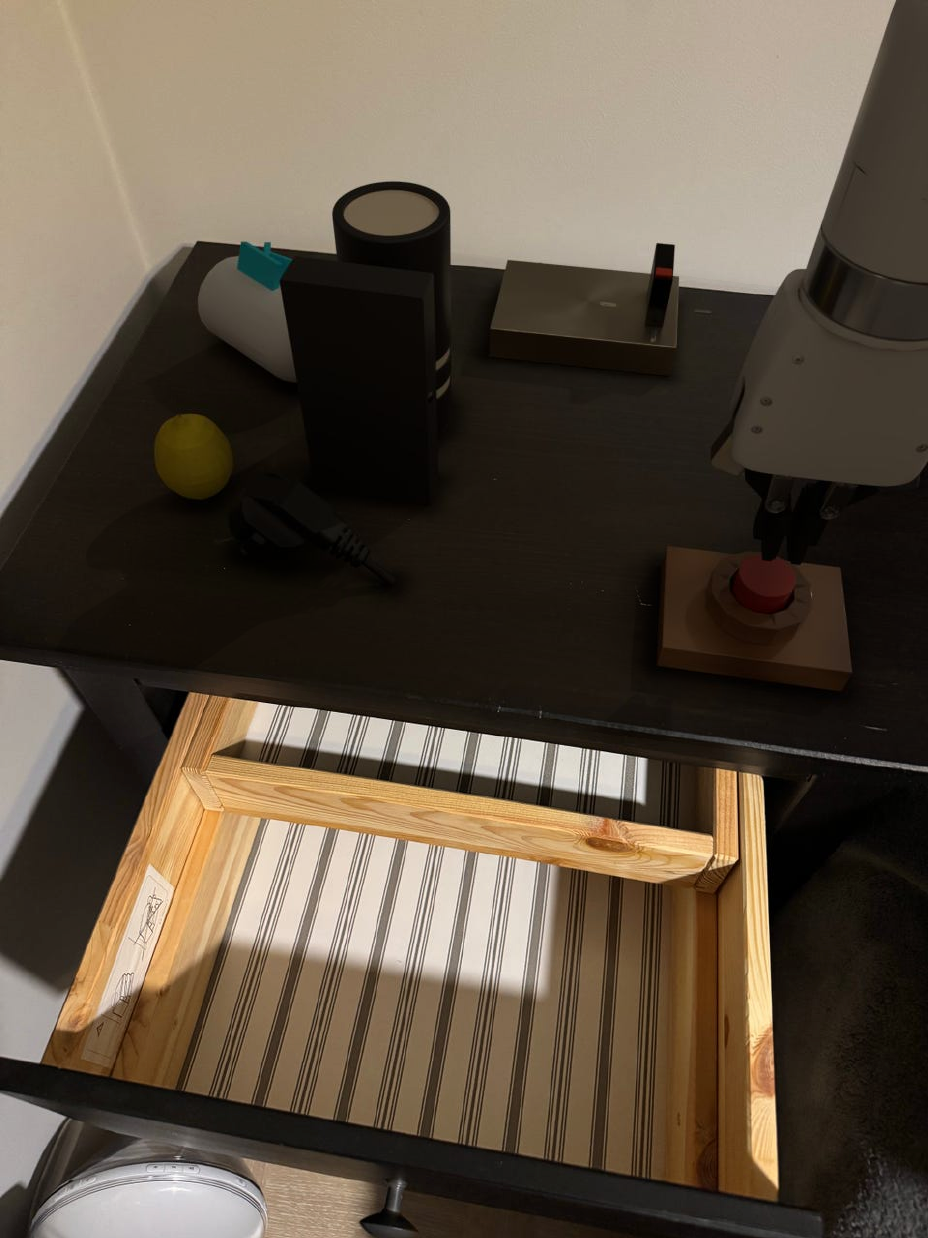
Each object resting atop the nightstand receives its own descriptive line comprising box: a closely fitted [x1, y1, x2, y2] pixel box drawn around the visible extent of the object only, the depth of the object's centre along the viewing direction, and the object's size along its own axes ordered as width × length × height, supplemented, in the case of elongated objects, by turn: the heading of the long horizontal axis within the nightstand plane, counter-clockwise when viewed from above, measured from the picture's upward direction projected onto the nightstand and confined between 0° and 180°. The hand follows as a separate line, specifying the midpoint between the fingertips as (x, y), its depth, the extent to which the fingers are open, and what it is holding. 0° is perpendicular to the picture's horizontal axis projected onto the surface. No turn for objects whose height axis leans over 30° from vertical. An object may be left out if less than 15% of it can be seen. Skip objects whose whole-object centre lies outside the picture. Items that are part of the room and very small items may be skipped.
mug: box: [197, 240, 297, 383], centre depth 79 cm, size 12×9×12 cm
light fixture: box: [279, 180, 453, 507], centre depth 67 cm, size 10×14×18 cm
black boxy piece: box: [645, 242, 676, 326], centre depth 78 cm, size 6×2×5 cm, turn 170°
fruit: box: [153, 413, 234, 501], centre depth 67 cm, size 6×6×8 cm
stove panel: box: [488, 259, 712, 377], centre depth 82 cm, size 19×11×3 cm, turn 80°
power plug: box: [227, 472, 397, 587], centre depth 65 cm, size 6×8×12 cm
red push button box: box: [656, 545, 853, 692], centre depth 61 cm, size 12×9×4 cm
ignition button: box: [733, 555, 796, 614], centre depth 59 cm, size 4×4×2 cm
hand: (779, 545), depth 56 cm, fingers closed
